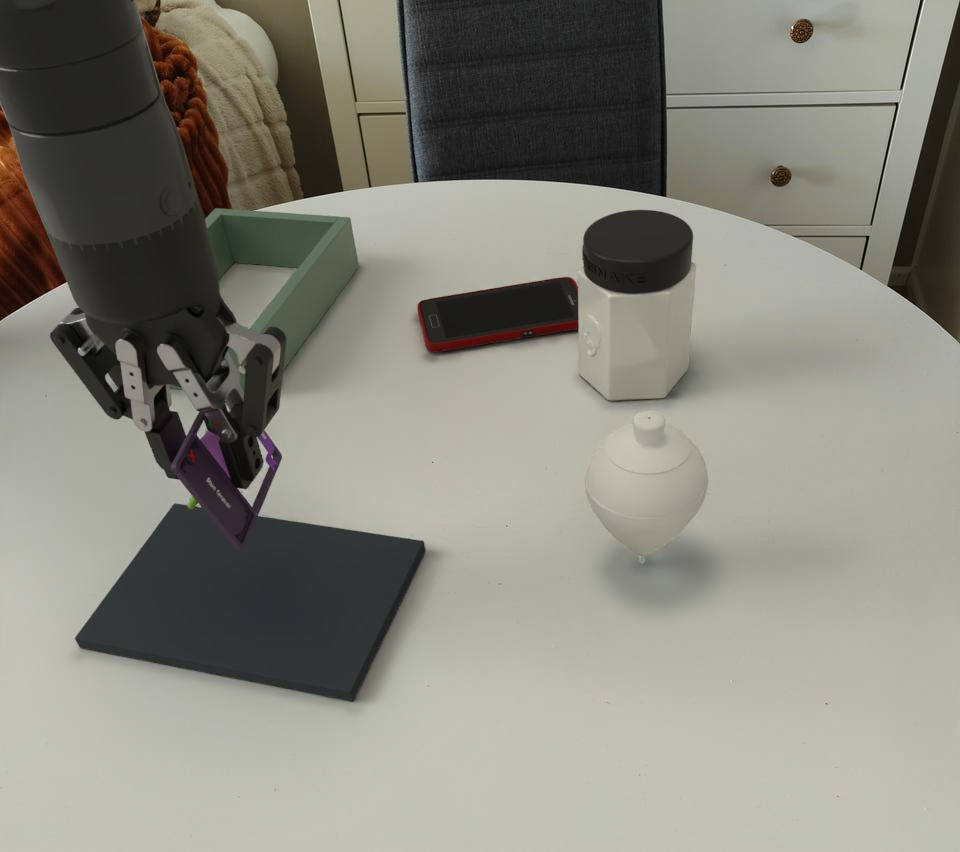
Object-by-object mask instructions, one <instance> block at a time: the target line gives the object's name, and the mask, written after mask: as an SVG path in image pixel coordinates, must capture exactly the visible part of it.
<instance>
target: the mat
mask: <svg viewBox="0 0 960 852" xmlns="http://www.w3.org/2000/svg"><path fill="white" fill-rule="evenodd" d="M425 553H426V545H425V541H424V540H419V539H412V538H406V537H400V536H394V535H386V534H380V533H373V532H366V531H361V530H354V529H346V528H341V527H334V526H327V525H320V524H314V523H308V522H301V521H294V520H287V519H282V518H281V519H280V518H274V517H268V516H262V515H258V517H257V519H256V522H255V524H254V527H253V529H252V531H251V534H250V536H249V538H248V541H247V543H246V546H245V548H244V549H243V550H239V551H237V550H236V549H235V548H234V547H233V545H232V544H231V543H230V542H229V540H228V539H227V538H226V537H225V535H224V534H223V533H222V532H221V530H220V529H219V528H218V527H217V526H216V524H215V523H214V522H213V521H212V519H211V518H210V517H209V516H208V514H207V513H206V512H205V511H204V510H203V508H202V507H201V506H197V505H196V506H195V508H194V509H192V510H191V509H189V508H188V504H182V503H176V502H174V503H173V504H172V505H171V507H170V508H169V509H168V511H167V513H166V514H165V515H164V516H163V518H162V519H161V520H160V522H159V523H158V524H157V526H156V527H155V529H154V530H153V531H152V533H151V534H150V535H149V537H148V538H147V539H146V541H145V542H144V543H143V545H142V546H141V547H140V549H139V550H138V551H137V553H136V554H135V556H134V557H133V558H132V560H131V561H130V563H129V564H128V565H127V567H126V568H125V569H124V571H123V572H122V573H121V575H120V576H119V578H118V579H117V580H116V582H114V584H113V585H112V587H111V588H110V590H108V592H107V593H106V595H105V597H103V599H102V600H101V602H100V603H99V604H98V606H97V607H96V609H95V610H94V611H93V613H92V614H91V615H90V617H89V618H88V619H87V621H86V622H85V624H84V625H83V626H82V627H81V629H80V630H79V632H78V633H77V634H76V635H75V637H74V640H75V642H76V643H77V645H78V647H79V648H80V649H84V650H89V651H94V652H99V653H105V654H110V655H115V656H120V657H126V658H130V659H134V660H139V661H145V662H151V663H156V664H161V665H165V666H170V667H171V666H172V667H177V668H180V669H186V670H191V671H196V672H201V673H206V674H211V675H217V676H221V677H227V678H231V679H237V680H240V681H241V680H242V681H245V682H246V681H247V682H251V683H257V684H263V685H268V686H272V687H276V688H277V687H278V688H282V689H287V690H292V691H298V692H303V693H308V694H313V695H318V696H324V697H327V698H334V699H338V700H342V701H343V700H344V701H347V702H354V700H355V698H356V696H357V695H358V693H359V690H360V688H361V686H362V683H363V682H364V679H365V678H366V676H367V673H368V671H369V669H370V667H371V665H372V663H373V661H374V658H375V657H376V655H377V653H378V651H379V649H380V646H381V644H382V642H383V640H384V638H385V636H386V634H387V632H388V630H389V627H390V625H391V623H392V622H393V620H394V617H395V615H396V613H397V611H398V609H399V608H400V605H401V603H402V601H403V599H404V597H405V594H406V593H407V590H408V588H409V586H410V584H411V582H412V580H413V578H414V576H415V574H416V572H417V569H418V567H419V565H420V563H421V561H422V559H423V557H424V555H425Z"/></svg>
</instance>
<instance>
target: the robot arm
mask: <svg viewBox="0 0 960 852" xmlns="http://www.w3.org/2000/svg"><path fill="white" fill-rule="evenodd" d="M0 108H1V109H2V112H3V115H4V117H5V120H6V121H7V124H8V127H9V130H10V132H11V135H12V138H13V143H14V147H15V151H16V154H17V158H18V161H19V165H20V168H21V171H22V176H23V178H24V180H25V183H26V186H27V189H28V191H29V193H30V196H31V198H32V201H33V203H34V205H35V207H36V210H37V212H38V215H39V218H40V220H41V222H42V225H43V227H44V230H45V232H46V234H47V237H48V239H49V242H50V245H51V247H52V249H53V252H54V254H55V257H56V259H57V261H58V264H59V267H60V269H61V271H62V274H63V276H64V278H65V281H66V283H67V286H68V288H69V291H70V293H71V296H72V298H73V300H74V302H75V304H76V306H77V307H75V308H74V309H73V310H71V312H70V313H69V314H67V315H66V316H65V317H64V318H63V319H61V321H60V322H59V323H58V324H57V326H56V327H55V328H53V329H52V331H50V333H49V338H50V341H51V342H52V343H53V345H54V346H55V348H56V349H57V350H58V352H59V353H60V354H61V356H62V357H63V358H64V359H65V361H66V362H67V364H68V365H69V366H70V368H71V369H72V370H73V372H74V373H75V375H76V376H77V377H78V378H79V380H80V381H81V383H82V384H83V385H84V386H85V388H86V389H87V391H88V392H89V393H90V394H91V396H92V397H93V398H94V400H95V401H96V403H97V404H98V405H99V407H100V408H101V410H102V411H103V412H104V413H105V415H107V416H108V417H109V418H111V419H112V420H118V421H119V420H121V419H122V418H123V417H125V418H127V419H130V420H132V421H133V424H134V425H135V427H136V428H137V429H138V430H140V431H142V432H144V434H145V437H146V440H147V442H148V445H149V447H150V449H151V452H152V454H153V457H154V460H155V462H156V464H157V465H158V467H160V469H161V470H163V471H164V474H165V476H166V478H168V479H171V480H179V479H178V477H177V476H176V475H175V474H174V472H173V471H172V470H171V465H172V463H173V461H174V459H175V457H176V455H177V453H178V451H179V449H180V447H181V446H182V444H183V442H184V440H185V438H186V436H187V434H186V432H185V429H184V426H183V423H182V420H181V417H180V415H179V411H177V410H174V411H173V410H170V408H171V406H172V404H173V401H172V388H170V384H171V385H174V386H177V387H180V388H183V389H182V390H183V393H184V394H185V395H186V397H187V398H188V400H189V402H190V403H191V405H192V407H193V408H194V410H195V411H197V412H198V413H199V412H201V411H203V412H204V413H205V414H206V416H207V418H208V419H209V421H210V423H211V424H212V426H213V428H214V430H215V431H216V433H217V435H218V436H219V437H220V440H219V441H218V442H219V445H220V448H221V451H222V454H223V457H224V460H225V463H226V466H227V469H228V472H229V475H230V478H231V481H232V484H233V485H234V486H235V487H236V488H238V489H242V490H247V489H249V488H250V486H251V484H252V483H253V482H254V481H255V479H256V478H257V476H258V475H259V473H260V472H261V470H262V469H263V467H264V458H263V454H262V450H261V448H260V444H259V439H258V438H257V437H259V436H260V435H261V434H262V433H263V431H264V430H265V431H266V428H267V427H268V426H269V424H270V423H271V421H272V420H273V418H274V417H275V416H276V414H277V413H278V412H279V410H280V407H281V405H280V404H281V396H282V389H283V388H282V387H283V376H284V370H285V369H284V360H285V351H286V341H287V339H286V335H285V334H284V332H283V331H282V330H281V329H279V328H277V327H269V328H267V330H266V331H265V332H264V334H261V333H259V332H256V331H254V330H251V329H250V328H249V327H246V326H244V325H242V324H239V323H237V319H236V316H235V314H234V312H233V311H232V310H231V309H230V308H229V306H228V305H227V303H226V302H225V301H224V298H223V296H222V295H221V289H220V279H219V274H218V265H217V260H216V257H215V254H214V250H213V247H212V243H211V240H210V236H209V233H208V229H207V226H206V222H205V219H206V218H205V216H204V212H203V209H202V206H201V205H202V204H201V202H200V199H199V195H198V191H197V188H196V186H195V181H194V178H193V174H192V170H191V167H190V164H189V159H188V156H187V154H186V149H185V146H184V144H183V140H182V136H181V134H180V131H179V129H178V127H177V125H176V123H175V120H174V118H173V116H172V113H171V111H170V108H169V106H168V104H167V101H166V99H165V96H164V93H163V90H162V87H161V84H160V80H159V76H158V73H157V70H156V66H155V63H154V60H153V56H152V53H151V50H150V46H149V42H148V39H147V36H146V32H145V28H144V25H143V21H142V18H141V14H140V11H139V7H138V4H137V1H136V0H0ZM229 347H230V348H231V349H233V350H234V352H235V353H236V355H237V358H238V363H239V365H240V366H239V367H238V369H237V367H236V365H235V363H234V362H233V360H232V358H231V356H230V354H229V353H228V349H229ZM283 369H284V370H283ZM239 372H240V373H241V374H245V385H244V391H243V390H242V388H241V386H240V373H239ZM107 375H108V376H109V377H110V379H111V380H112V382H113V383H114V384H115V386H116V387H117V388H116V389H115V390H113V388H112V387H111V385H110V384H109V382H108V381H107V379H106V377H107ZM210 379H211V380H210ZM209 380H210V381H209ZM208 381H209V382H208ZM207 382H208V383H207ZM206 383H207V385H206ZM224 401H225V402H226V403H225V404H226V407H227V408H226V407H225V404H224ZM228 409H229V410H228ZM179 481H180V480H179Z"/></svg>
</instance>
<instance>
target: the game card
mask: <svg viewBox="0 0 960 852" xmlns="http://www.w3.org/2000/svg"><path fill="white" fill-rule="evenodd" d="M224 404H225V407H226V408H227V409H228V406H227V404H226V402H225V401H224ZM203 422H204V424H205V427H206V429H205V430H204V431H205V432H204V435H203V436H202V437H201V438H200V437H199V436H198V432H199V431H200V428H201V426H202V425H203ZM219 440H220V437H219V436H218V435H217V433H216V431H215V430H214V428H213V426H212V424H211V423H210V421H209V419H208V418H207V416H206V414H205V413H204V412H203V411H201V412H199V411H198V413H197V415H196V417H195V419H194V421H193V423H192V425H191V426H190V428H189V430H188V432H187V434H186V438H185V440H184V442H183V444H182V446H181V447H180V449H179V451H178V453H177V455H176V457H175V459H174V461H173V463H172V465H171V470H172V471H173V472H174V474H175V475H176V476H177V477H178V479H179V481H180V483H181V484H182V486H184V488H185V489H186V490H187V492H189V493H190V495H191V498H189V502H188V503H187V505H188V508H189V509H191V510H192V509H194V508H195V506H196V507H197V505H199V507H202V508H203V510H204V511H205V512H206V513H207V514H208V516H209V517H210V518H211V519H212V521H213V522H214V523H215V524H216V526H217V527H218V528H219V529H220V530H221V532H222V533H223V534H224V535H225V537H226V538H227V539H228V540H229V542H230V543H231V544H232V545H233V547H234V548H235V549H236V550H237V551H239V550H243V549H244V548H245V546H246V543H247V541H248V538H249V536H250V534H251V531H252V529H253V527H254V524H255V522H256V519H257V517H258V516H260V515H259V514H260V512H261V509H262V507H263V505H264V502H265V500H266V498H267V496H268V493H269V491H270V488H271V485H272V483H273V481H274V478H275V476H276V474H277V471H278V469H279V467H280V464H281V462H282V460H283V455H282V453H281V451H280V450H279V449H278V447H277V446H276V444H275V443H274V442H273V440H272V439H271V437H270V436H269V435H268V433H267V431H266V429H265V430H264V431H263V433H262V434H261V435H260V436H259V437H257V440H258V441H259V442H260V443H261V444H262V446H263V447H264V449H265V450H266V452H267V454H266V456H265V458H264V459H265V462H266V464H267V465H268V468H267V471H266V473H265V475H264V478H263V480H262V483H261V484H260V487H259V489H258V492H257V494H256V496H255V499H254V501H253V504H252V505H251V504H250V503H249V501H248V500H247V498H246V497H245V496H244V494H242V492H241V491H240V488H236V487H235V486H234V485H233V484H232V481H231V478H230V475H229V472H228V469H227V466H226V463H225V460H224V457H223V454H222V451H221V448H220V445H219V442H218V441H219ZM178 479H177V480H178Z"/></svg>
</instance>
